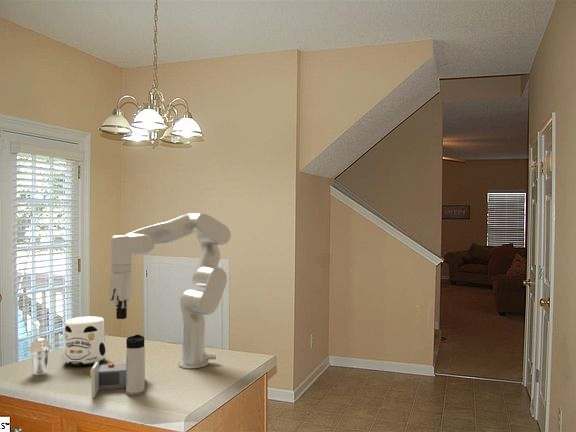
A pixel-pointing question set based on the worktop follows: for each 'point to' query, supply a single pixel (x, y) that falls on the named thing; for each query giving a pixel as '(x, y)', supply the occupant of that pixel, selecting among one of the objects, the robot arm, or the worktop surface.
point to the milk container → (84, 341)
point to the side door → (95, 378)
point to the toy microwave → (112, 376)
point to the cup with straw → (39, 353)
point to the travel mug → (135, 365)
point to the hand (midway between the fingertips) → (121, 318)
